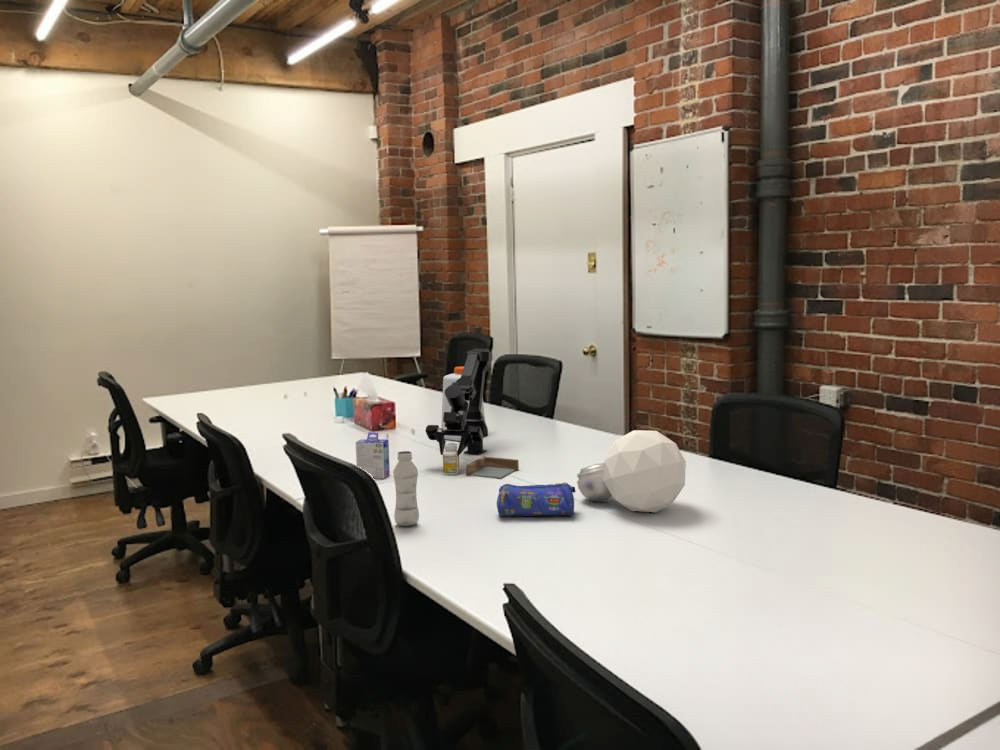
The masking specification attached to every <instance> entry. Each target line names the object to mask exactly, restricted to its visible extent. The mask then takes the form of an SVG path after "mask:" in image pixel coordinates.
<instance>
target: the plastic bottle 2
mask: <svg viewBox="0 0 1000 750" xmlns="http://www.w3.org/2000/svg"><path fill="white" fill-rule="evenodd" d="M463 369H464V366H455V367H454V369H453V373H449V374H447V375H445V376H443V378H442V379H443V380H442V402H441V403H442V405H441V426H440V428H442V429H447V427H445V422H443V416H444V412H450V411H451V406H450V405H449V403H448V401H447V398H446V396H445V389H446V388H447V387H448V386H450V385H452V383H453V382H456V381H457V380H458V379H459V378H461V375H462V372H463ZM466 402H467V403H468V404H469V401H466ZM468 408H469V407H468ZM481 412H482V414H483V416H484V418H485V406H484V398H482V407H481ZM485 419H486V418H485ZM444 438H445V441H447V440H448V441H454V442H460V441H461V436H448V435H445V436H444Z"/></svg>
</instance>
